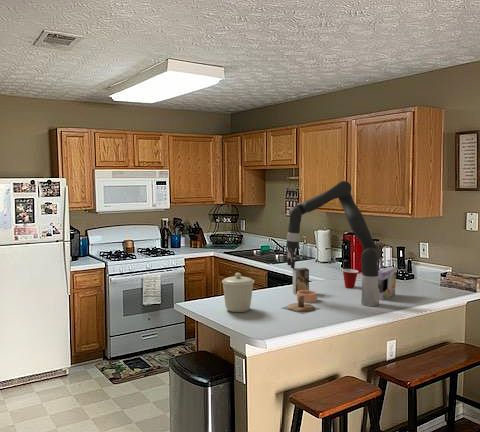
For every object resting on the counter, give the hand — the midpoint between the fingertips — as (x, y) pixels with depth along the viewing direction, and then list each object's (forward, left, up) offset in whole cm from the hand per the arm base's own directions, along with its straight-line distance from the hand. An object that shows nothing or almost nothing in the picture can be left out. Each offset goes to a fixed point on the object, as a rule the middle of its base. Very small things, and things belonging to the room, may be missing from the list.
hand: (290, 266), depth 298 cm
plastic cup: (-5, -55, -21) cm, 59 cm away
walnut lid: (-18, +11, -20) cm, 29 cm away
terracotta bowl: (-8, -6, -20) cm, 22 cm away
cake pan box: (-35, -49, -21) cm, 63 cm away
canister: (+4, +39, -21) cm, 45 cm away
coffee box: (+6, -17, -21) cm, 27 cm away
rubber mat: (-18, +11, -20) cm, 29 cm away
